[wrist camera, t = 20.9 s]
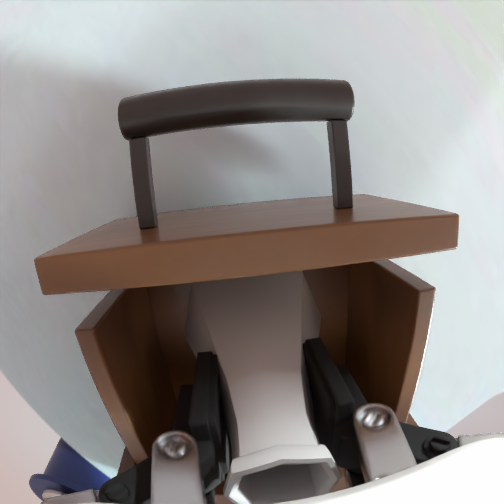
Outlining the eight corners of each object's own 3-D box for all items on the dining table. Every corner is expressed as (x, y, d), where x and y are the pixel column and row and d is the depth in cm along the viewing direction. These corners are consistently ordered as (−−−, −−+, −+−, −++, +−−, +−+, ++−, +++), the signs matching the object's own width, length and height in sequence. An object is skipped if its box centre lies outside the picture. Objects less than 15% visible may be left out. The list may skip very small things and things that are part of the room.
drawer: (106, 130, 14) (18, 104, 6) (356, 108, 14) (446, 70, 7) (172, 432, 19) (160, 518, 11) (352, 409, 19) (391, 487, 12)
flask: (317, 248, 15) (439, 358, 5) (319, 366, 17) (383, 505, 7) (171, 266, 15) (96, 409, 5) (197, 383, 16) (185, 536, 7)
